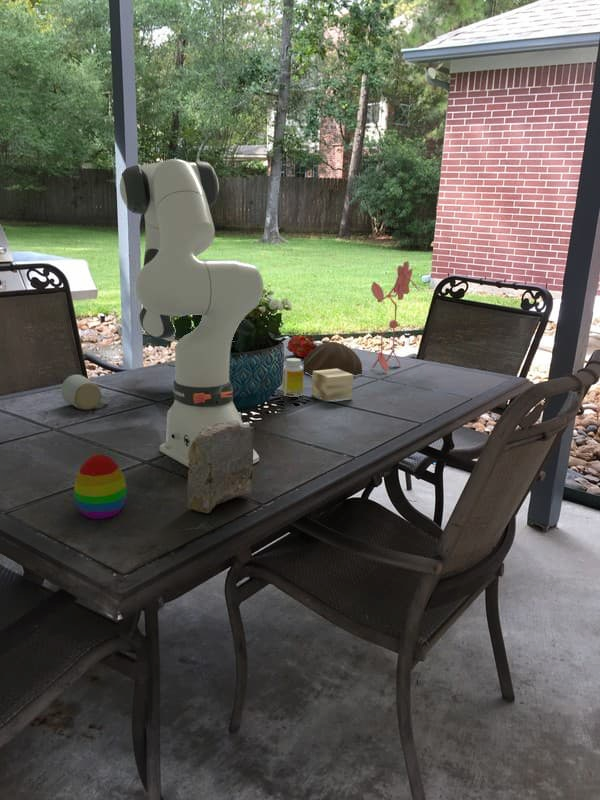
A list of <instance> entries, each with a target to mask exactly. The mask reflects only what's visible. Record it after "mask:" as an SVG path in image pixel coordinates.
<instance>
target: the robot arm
mask: <svg viewBox="0 0 600 800" xmlns="http://www.w3.org/2000/svg"><path fill="white" fill-rule="evenodd" d="M219 189H220V182H219V179H218V176H217V174H216V172H215V169H214V167H213V166H212V165H211V164H210V163H209V162H207V161H202V160H201V161H200V160H194V162H192V161H186V160H183V159H179V158H170V159H169V158H168V159H166V160H164V161H158V162H152V163H147V164H142V165H139V164H135V165H131V166H129V167H126V168H125V169H124V170H123V171H122V173H121V178H120V182H119V192H120V197H121V200H122V201H123V203H124V205H125V206H126V208H127V210H129V211H130V212H131V213H133V214H137V215H144V225H145V244H144V246H145V247H144V249H145V250H144V259H143V267H142V268H141V269H140V270H139V272H138V275H137V278H136V280H135V281H136V282H135V291H136V295H137V299H138V301H139V303H140V304H141V305H142V308H141V310H140V313H139V317H138V318H139V322H140V325H141V327H142V329H143V331H145V333H146V334H147V335H148V336H150V337H152V338H155V339H162V340H165V341H169V342H174V343H176V346H175V348H174V364H175V365H174V367H175V369H174V371H175V372H174V374H175V379H174V380H173V387H172V393H173V399H174V401H173V404H172V405H171V407H170V408H169V409H168V410H167V414H166V433H165V434H166V437H165V439H166V440H165V442H163V443H162V444H161V445H159V452H161V453H163V454H164V455H165V456H167V457H170V458H171V459H173V460H174V461H177V462H178V463H180V464H182V465H184V466H185V467H188V462H189V461H190V459H189V456H188V451H189V449H190V445H191V443H192V440H193V438H194V437H195V436H196V434H197V433H198V432H199V431H201V430H202V429H203V428H206V427H209V426H210V425H213V424H215V423H223V422H230V421H233V420H237V421H238V422H239V423H240V424H242V425H244V426H245V427H251V425H250V423H249V421H246V422H243V419H242V413H241V412H239V411H238V410H237V408H236V406H235V403H234V401H233V400H234V395H233V394H234V393H233V392H234V390H233V386H232V381H231V380H230V361H231V360H230V359H231V349H232V348H231V347H232V343H233V341H232V340H233V337H234V334H235V332H236V330H237V328H238V326H239V324H240V323H241V321H242V320H244V319H245V318H246V316H247V315H248V314H249V313H251V312H252V311H253V310H254V309H256V308H257V306H258V305H259V304H260V302H261V300H262V297H263V294H264V280H263V277H262V274H261V273H260V270H259V269H258V267H257V266H256V265H255V264H253V263H250V262H246V261H242V260H236V259H233V258H232V259H231V258H229V259H226V258H225V259H218V258H217V259H214V258H213V259H212V258H211V259H208V258H206V259H201V258H197V257H198V256H199V255H201V254H202V253H203V252H205V251H207V249H208V248H209V247H210V246H211V245H212V244H213V241H214V239H215V233H216V229H215V225H214V221H213V217H212V214H211V211H210V207H212V206H214V205H215V203H216V202H217V201H218V195H219V191H220V190H219ZM185 315H202V318H201V321H200V323H199V325H198V326H197V327H196V328H195V329H194V330H193V331H191V332H190V333H188V334H186V335H184V336H183V337H182V338H181V339H180V340H179V341H178V340H175V337H174V334H175V329H174V327H173V324H172V322H171V321H170V316H185ZM259 461H260V456H259V454H258V453H257V451H256V450H255V449H254V448H253V465H254V464H256V463H257V462H259ZM188 468H189V467H188Z"/></svg>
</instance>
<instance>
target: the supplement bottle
mask: <svg viewBox="0 0 600 800" xmlns="http://www.w3.org/2000/svg"><path fill="white" fill-rule="evenodd" d="M285 362H286V363H285V365H284V366H283V367H282V396H283V395H284V396H283V397H285V396H289V397H298V398H300V397H299V396H301V397H302V396H303V394H304V393H303V392H304V391H303V390H304V373H303V367H304V366H302V360H301V358H297V357H290V358H286V360H285Z"/></svg>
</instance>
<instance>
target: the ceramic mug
mask: <svg viewBox="0 0 600 800" xmlns="http://www.w3.org/2000/svg"><path fill="white" fill-rule="evenodd" d="M60 394H61V396H62V399H63V400H64V401H65V402H66V403H68V404H70V405H72V406H74V407H75V408H77V409H78V410H84V411H89V410H92V409H94V408H95V407H97V406H98V405H99V404H103V405H109V402H110V397H107V396H106V395H103V394H102V392H101V388H100V387H99V386H98V385H97V384H96V383H95V382H93V380H90V379H88V378H87V377H85V376H84V375H82V374H72V375H70V376H69V375H68V377H66V379H65V380H64V381H63V383H62V384H61V388H60Z"/></svg>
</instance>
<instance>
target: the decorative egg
mask: <svg viewBox="0 0 600 800" xmlns="http://www.w3.org/2000/svg"><path fill="white" fill-rule="evenodd" d="M123 473H124V472H123V471H122V468H120V465H118V463H117V462H116V461H115V460H113V459H112V458H111V457H109V456H108V455H105V454H99V453H98V454H94V455H92V456H90V457H89V458H88V459H86V460H85V461H84V462H83V464H82V465H81V466H80V468H79V470H78V473H77V474H76V477H75V481H74V484H73V485H74V486H73V487H74V489H73V492H74V493H73V494H74V500H75V503H76V505H77V507H78V509H79V511H80V512H81V513H82V514H83V515H84V516H85V517H87V518H90V519H93V520H104V519H108V518H112V517H114V516H116V515H117V514H118V513H119V512H120V511H121V510H122V508H123V506H124V504H125V501H126V498H127V481H126V479H125V475H124V474H123Z"/></svg>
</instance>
